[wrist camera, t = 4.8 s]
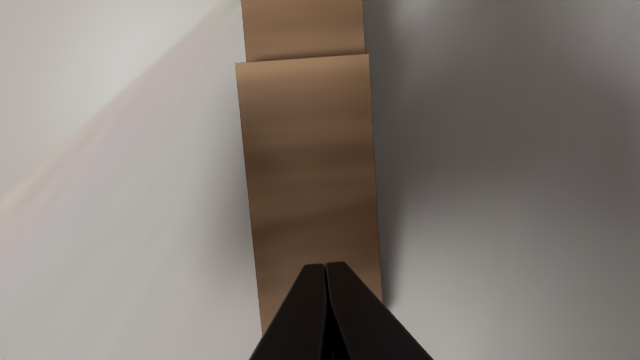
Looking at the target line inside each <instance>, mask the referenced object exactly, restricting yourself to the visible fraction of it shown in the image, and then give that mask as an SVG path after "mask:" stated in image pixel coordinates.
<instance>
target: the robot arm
mask: <svg viewBox="0 0 640 360" xmlns="http://www.w3.org/2000/svg"><path fill="white" fill-rule="evenodd" d="M332 354H333V355H332ZM249 360H433V359H432V357H431V356H430V355H429V354H428V353H427V352H426V351H425V350H424V349H423V347H422V346H421V345H420V344H419V343H418V342H417V341H416V340H415V339H414V337H413V336H412V335H411V334H410V333H409V332H408V331H407V330H406V329H405V327H404V326H403V325H402V324H401V323H400V322H399V321H398V320H397V319H396V318H395V316H394V315H393V314H392V313H391V312H390V311H389V310H388V309H387V308H386V306H385V305H384V304H383V303H382V302H381V301H380V300H379V299H378V298H377V296H376V295H375V294H374V293H373V292H372V291H371V290H370V289H369V288H368V286H367V285H366V284H365V283H364V282H363V281H362V280H361V279H360V278H359V276H358V275H357V274H356V273H355V272H354V271H353V270H352V269H351V268H350V266H349V265H348V264H347V263H346V262H344V261H338V262H328V263H326V264H325V267H324V264H322V263H316V264H306V265H304V266H303V267H302V269H301V271H300V272H299V274H298V276H297V278H296V279H295V281H294V283H293V284H292V286H291V288H290V290H289V291H288V293H287V295H286V297H285V298H284V300H283V302H282V303H281V305H280V307H279V309H278V310H277V312H276V314H275V316H274V317H273V319H272V321H271V323H270V324H269V326H268V328H267V329H266V331H265V333H264V335H263V336H262V338H261V340H260V342H259V343H258V345H257V347H256V348H255V350H254V352H253V354H252V355H251V357H250V359H249Z"/></svg>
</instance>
